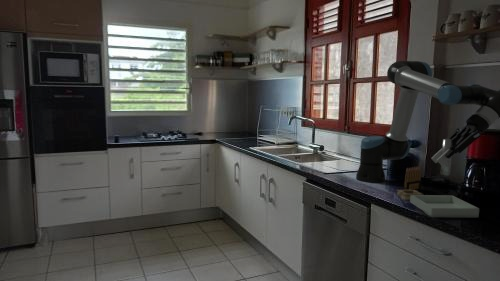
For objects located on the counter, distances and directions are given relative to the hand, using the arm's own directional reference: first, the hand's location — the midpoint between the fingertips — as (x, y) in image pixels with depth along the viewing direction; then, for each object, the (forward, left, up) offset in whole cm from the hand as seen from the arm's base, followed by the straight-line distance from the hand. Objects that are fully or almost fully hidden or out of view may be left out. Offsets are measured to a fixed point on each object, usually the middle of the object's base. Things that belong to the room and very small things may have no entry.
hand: (436, 161), depth 144 cm
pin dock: (-16, -2, -20) cm, 26 cm away
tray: (0, +4, -20) cm, 20 cm away
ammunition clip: (-29, +5, -20) cm, 36 cm away
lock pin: (0, +4, -5) cm, 6 cm away
